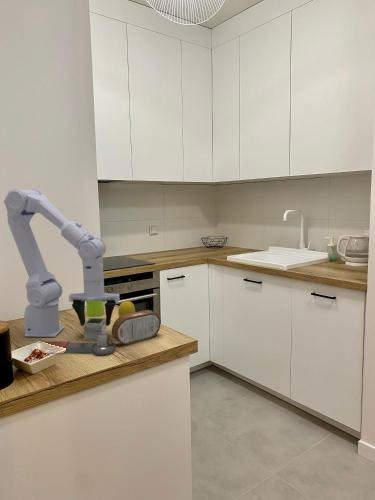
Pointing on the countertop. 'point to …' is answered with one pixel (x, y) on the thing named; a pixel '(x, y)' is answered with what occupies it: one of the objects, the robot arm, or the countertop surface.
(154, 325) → the tin
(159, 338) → the countertop surface
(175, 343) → the countertop surface
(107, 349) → the ratchet
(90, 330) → the socket
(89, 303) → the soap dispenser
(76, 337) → the countertop surface
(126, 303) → the lemon
